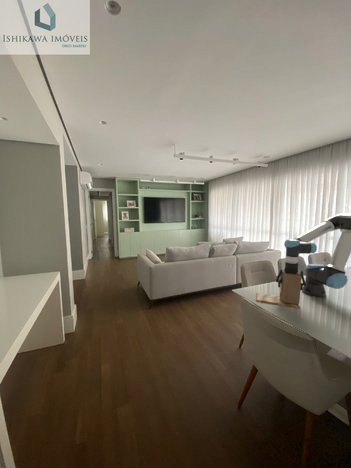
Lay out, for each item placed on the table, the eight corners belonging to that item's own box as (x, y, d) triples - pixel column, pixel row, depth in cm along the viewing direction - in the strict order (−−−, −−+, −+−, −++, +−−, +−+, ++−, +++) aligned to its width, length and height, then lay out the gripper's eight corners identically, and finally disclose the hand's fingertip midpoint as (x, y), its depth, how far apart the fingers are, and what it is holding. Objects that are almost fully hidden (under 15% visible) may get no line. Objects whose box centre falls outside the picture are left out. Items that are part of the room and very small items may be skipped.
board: (295, 300, 139) (295, 298, 139) (299, 308, 127) (299, 306, 127) (256, 294, 149) (256, 292, 149) (256, 301, 137) (256, 299, 137)
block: (300, 304, 129) (302, 275, 127) (283, 303, 131) (285, 274, 129) (294, 298, 139) (295, 271, 136) (278, 297, 141) (280, 270, 138)
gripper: (310, 262, 131) (307, 293, 133) (272, 259, 140) (270, 288, 142) (313, 265, 124) (310, 298, 126) (273, 261, 133) (271, 292, 135)
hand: (289, 293), depth 134 cm, fingers closed on block, 11 cm apart
